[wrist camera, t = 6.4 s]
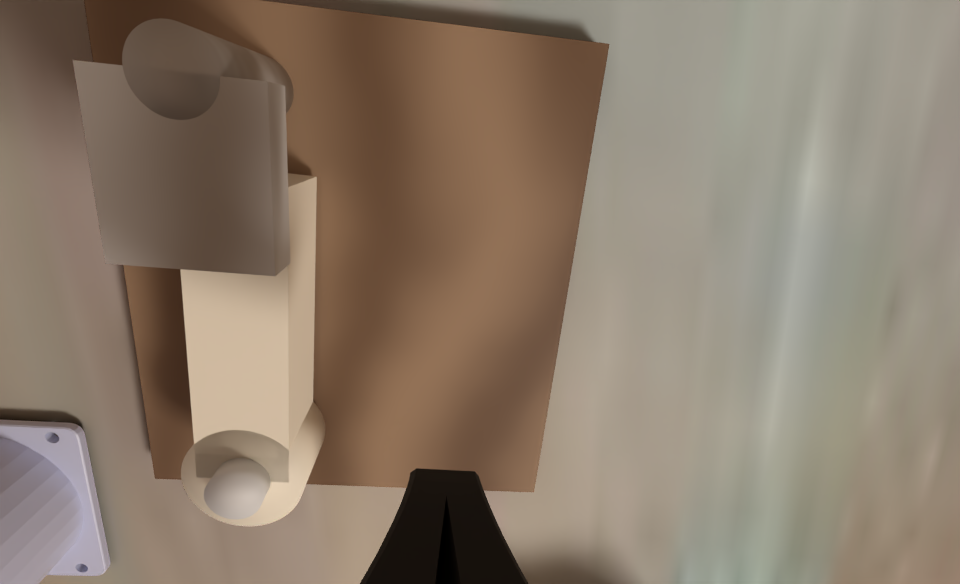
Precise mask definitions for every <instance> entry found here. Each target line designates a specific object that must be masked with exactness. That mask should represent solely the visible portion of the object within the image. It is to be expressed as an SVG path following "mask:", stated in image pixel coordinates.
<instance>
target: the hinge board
mask: <svg viewBox="0 0 960 584" xmlns="http://www.w3.org/2000/svg"><path fill="white" fill-rule="evenodd" d="M84 4H85V10H86V17H87V24H88V31H89V37H90V44H91V51H92V57H93V62H87V61H78V60H73V66H74V72H75V79H76V85H77V91H78V97H79V103H80V110H81V116H82V122H83V128H84V134H85V141H86V147H87V153H88V159H89V165H90V172H91V178H92V184H93V190H94V197H95V203H96V209H97V215H98V221H99V228H100V234H101V240H102V246H103V252H104V259H105V264H117V265H123V266H124V273H125V280H126V286H127V293H128V300H129V307H130V313H131V320H132V327H133V334H134V340H135V347H136V354H137V360H138V367H139V374H140V381H141V387H142V394H143V401H144V408H145V414H146V421H147V428H148V435H149V441H150V448H151V455H152V461H153V468H154V475H155V479H181V467H182V462H183V460H184V457H185V455H186V454H187V452H188V451H189V449H190V448H191V447H192V446H193V444H194V437H193V425H192V412H191V399H190V386H189V374H188V361H187V348H186V335H185V323H184V310H183V297H182V284H181V272H180V269H184V270H197V271H211V272H224V273H238V274H251V275H265V276H276V275H277V274H279V273H280V272H281V271H282V270H283V269H284V268H286V267H287V266H288V265H289V264H290V230H289V197H288V173H291V174H299V175H308V176H316V177H317V193H316V254H315V314H314V374H313V402H314V403H315V404H316V406H317V407H318V408H319V410H320V412H321V414H322V416H323V419H324V423H325V437H324V441H323V443H322V446H321V448H320V451H319V453H318V456H317V458H316V461H315V463H314V466H313V468H312V471H311V473H310V476H309V478H308V481H307V483H306V484H320V485H347V486H375V487H403V488H407V485H408V482H409V477H410V473H411V472H412V471H413V470H415V469H416V468H420V469H440V470H460V471H475V472H476V473H477V475H478V476H479V478H480V481H481V484H482V487H483V490H487V491H514V492H534V488H535V482H536V476H537V470H538V465H539V459H540V453H541V447H542V441H543V435H544V429H545V423H546V417H547V411H548V405H549V399H550V393H551V387H552V381H553V375H554V370H555V364H556V358H557V352H558V346H559V340H560V334H561V328H562V322H563V316H564V310H565V304H566V298H567V292H568V286H569V280H570V275H571V269H572V263H573V257H574V251H575V245H576V239H577V233H578V227H579V221H580V215H581V209H582V203H583V197H584V191H585V185H586V180H587V174H588V168H589V162H590V156H591V150H592V144H593V138H594V132H595V126H596V120H597V114H598V108H599V102H600V96H601V90H602V85H603V79H604V73H605V67H606V61H607V55H608V49H609V44H605V43H597V42H589V41H581V40H573V39H565V38H557V37H549V36H541V35H533V34H525V33H517V32H509V31H501V30H493V29H485V28H477V27H469V26H461V25H453V24H445V23H437V22H429V21H421V20H413V19H405V18H397V17H389V16H381V15H373V14H365V13H357V12H349V11H341V10H333V9H325V8H317V7H310V6H302V5H294V4H286V3H278V2H270V1H262V0H84Z"/></svg>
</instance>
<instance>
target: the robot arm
mask: <svg viewBox="0 0 960 584" xmlns="http://www.w3.org/2000/svg"><path fill="white" fill-rule="evenodd" d="M54 433H55V434H57V435H58V436H56V435H55V434H54ZM109 566H110V558H109V553H108V548H107V542H106V537H105V532H104V527H103V522H102V517H101V512H100V507H99V502H98V497H97V492H96V487H95V482H94V477H93V472H92V467H91V462H90V457H89V452H88V447H87V442H86V437H85V433H84V431H83V429H82V428H81V427H80V426H78V425H76V424H73V423H64V422H42V421H20V420H0V584H39V583H40V582H41V580H42V579H43V578H44V577H45V576H46V575H80V576H97V575H101V574H103V573H104V572H105V571H106V570H107V568H108V567H109ZM360 584H528V582H527V580H526V579H525V577H524V575H523V573H522V571H521V569H520V568H519V566H518V564H517V562H516V560H515V558H514V556H513V554H512V552H511V550H510V548H509V546H508V544H507V542H506V541H505V539H504V537H503V535H502V532H501V530H500V528H499V526H498V524H497V522H496V519H495V517H494V515H493V513H492V510H491V508H490V506H489V503H488V501H487V498H486V496H485V493H484V490H483V487H482V484H481V481H480V478H479V476H478V475H477V473H476V472H475V471H460V470H440V469H420V468H416V469H415V470H413V471H412V472H411V473H410V477H409V482H408V485H407V488H406V491H405V494H404V497H403V500H402V502H401V505H400V507H399V509H398V512H397V514H396V516H395V519H394V521H393V523H392V525H391V527H390V529H389V531H388V533H387V535H386V537H385V539H384V541H383V543H382V545H381V547H380V549H379V551H378V553H377V555H376V557H375V558H374V560H373V562H372V564H371V565H370V567H369V569H368V571H367V572H366V574H365V576H364V578H363V579H362V581H361V583H360Z"/></svg>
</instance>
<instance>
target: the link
mask: <svg viewBox="0 0 960 584" xmlns="http://www.w3.org/2000/svg"><path fill="white" fill-rule="evenodd" d="M316 193H317V177H316V176H308V175H299V174H291V173H288V197H289V230H290V264H289V265H288V266H287V267H286V268H284V269H283V270H282V271H281V272H280V273H279V274H277V275H276V276H265V275H251V274H238V273H224V272H211V271H197V270H184V269H180V272H181V284H182V297H183V310H184V323H185V335H186V348H187V361H188V374H189V386H190V399H191V412H192V425H193V437H194V444H193V446H192V447H191V448H190V449H189V451H188V452H187V454H186V455H185V457H184V460H183V462H182V467H181V480H182V484H183V487H184V490H185V492H186V494H187V495H188V497H189V498H190V500H191V501H192V502H193V503H194V504H195V505H196V506H197V507H198V508H199V509H200V510H201V511H203V512H204V513H206V514H207V515H209V516H211V517H212V518H214V519H217V520H219V521H221V522H225V523H228V524H232V525H237V526H260V525H265V524H269V523H272V522H275V521H277V520H279V519H281V518H283V517H284V516H286V515H287V514H288V513H290V512H291V511H292V510H293V509H294V508H295V507H296V505H297V504H298V502H299V500H300V498H301V496H302V493H303V491H304V488H305V486H306V483H307V481H308V478H309V476H310V473H311V471H312V468H313V466H314V463H315V461H316V458H317V456H318V453H319V451H320V448H321V446H322V443H323V441H324V437H325V423H324V419H323V416H322V414H321V412H320V410H319V408H318V407H317V406H316V404H315V403H314V402H313V374H314V314H315V254H316Z"/></svg>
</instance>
